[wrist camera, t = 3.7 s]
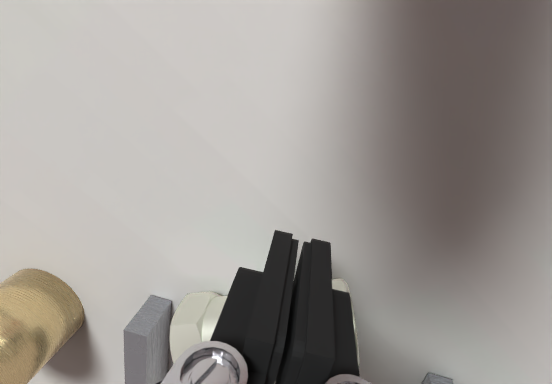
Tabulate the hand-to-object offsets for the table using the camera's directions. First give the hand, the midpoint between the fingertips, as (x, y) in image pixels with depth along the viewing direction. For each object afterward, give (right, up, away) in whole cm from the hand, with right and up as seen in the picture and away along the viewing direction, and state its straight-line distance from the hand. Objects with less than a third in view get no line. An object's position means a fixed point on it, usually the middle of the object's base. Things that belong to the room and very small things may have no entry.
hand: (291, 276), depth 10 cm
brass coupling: (-14, -4, +10) cm, 18 cm away
